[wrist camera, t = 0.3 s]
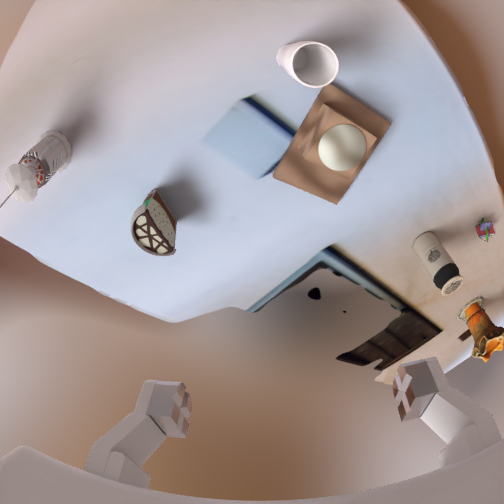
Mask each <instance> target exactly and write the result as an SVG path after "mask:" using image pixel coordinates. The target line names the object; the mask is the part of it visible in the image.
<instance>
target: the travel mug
mask: <svg viewBox="0 0 504 504" xmlns="http://www.w3.org/2000/svg"><path fill="white" fill-rule="evenodd" d="M413 249H414V251H415V253H416V254H417V256H418V257H419V259H420V260H421V262H422V264H423V265H424V267H425V268H426V270H427V272H428V273H429V275H430V276H431V278H432V280H433V281H434V283H435V285H436V286H437V287H438V288H440V289H441V293H442V295H443V296H448V295H451V294H453V293H454V292H456V291H457V290H458V289H459V288H460V287H461V285H462V284H463V281H464V278H463V276H461V275H460V274H459V269H458V267H457V266H456V264H455V263H454V261H453V260H452V259H451V257H450V256H449V254H448V253H447V251H446V250H445V249H444V247H443V246H442V245H441V243H440V242H439V241H438V239H437V238H436V237H435V235H434V234H433V233H431V232H426V233H424V234H422V235H420V236H419V237H418V238H417V239H416V241H415V243H414V245H413Z"/></svg>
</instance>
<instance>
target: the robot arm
mask: <svg viewBox="0 0 504 504" xmlns="http://www.w3.org/2000/svg"><path fill="white" fill-rule="evenodd" d="M397 371H398V375H397V376H396V377H395V378H394V381H393V394H394V397H395V399H396V400H397V401H398V402H400V404H399V406H398V411H399V414H400V418H401V421H407V420H411V419H415V418H419V417H421V419H422V420H423V421H424V422H425V423H426V424H427V425H428V426H429V427H430V428H431V429H432V430H433V431H434V432H435V433H437V434H438V436H440V437H441V438H442V439H443V440H444V441H445V442H446V443H447V444H448V445H447V446H446V447H445V448H444V449H443V450H442V451H441V452H440V454H439V455H438V456H439V460H440V463H441V469H438V470H435V471H433V472H430V473H427V474H424V475H421V476H418V477H415V478H412V479H408V480H405V481H401V482H398V483H394V484H391V485H387V486H383V487H378V488H374V489H369V490H365V491H360V492H355V493H349V494H343V495H336V496H329V497H322V498H312V499H302V500H285V501H235V500H219V499H207V498H198V497H190V496H183V495H177V494H171V493H165V492H160V491H155V490H150V489H148V488H149V483H150V478H151V476H150V474H149V473H148V472H146V471H145V470H143V469H142V468H141V466H142V465H143V464H144V462H145V461H146V460H147V459H148V458H149V457H150V456H151V455H152V454H153V453H154V451H155V450H156V449H157V448H158V447H159V446H160V445H161V444H162V442H163V441H164V440H165V439H166V438H167V437H166V436H168V437H179V438H186V437H187V432H188V427H189V423H188V421H187V420H186V419H187V418H188V417H189V416H190V415H191V412H192V399H191V396H190V394H189V393H188V392H186V391H185V388H186V387H185V385H184V383H183V382H167V381H154V380H146V381H145V382H144V384H143V386H142V389H141V392H140V395H139V398H138V401H137V404H136V407H135V410H134V413H129V414H128V415H127V416H126V417H125V418H124V419H122V420H121V421H120V422H119V423H118V424H116V425H115V426H114V427H113V428H112V429H110V430H109V431H108V432H107V433H106V434H105V435H103V436H102V437H101V438H100V439H99V440H97V441H96V442H95V443H94V444H93V445H92V447H91V451H90V453H89V456H88V459H87V462H86V465H85V468H84V470H81V469H78V468H75V467H73V466H70V465H68V464H66V463H63V462H61V461H58V460H56V459H54V458H51V457H49V456H47V455H45V454H43V453H41V452H39V451H36V450H34V449H32V448H30V447H28V446H25V445H22V446H19V447H17V448H15V449H13V450H12V451H10V452H9V453H7V454H6V455H4V456H3V457H1V458H0V504H504V439H503V440H502V438H501V436H500V433H499V430H498V428H497V425H496V423H495V420H494V418H493V415H492V414H491V413H489V412H488V411H487V410H485V409H484V408H482V407H481V406H479V405H478V404H477V403H475V402H474V401H472V400H471V399H469V398H468V397H466V396H465V395H464V394H462V393H461V392H459V391H458V390H456V389H455V388H450V386H449V384H448V381H447V379H446V377H445V375H444V372H443V370H442V368H441V366H440V364H439V362H438V360H437V358H436V357H431V358H427V359H422V360H418V361H414V362H409V363H405V364H401V365H400V366H399V367H398V370H397Z"/></svg>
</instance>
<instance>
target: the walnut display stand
mask: <svg viewBox="0 0 504 504" xmlns="http://www.w3.org/2000/svg"><path fill="white" fill-rule="evenodd" d="M390 125H391V124H390V123H389V122H388V121H386V120H385V119H384V118H382V117H381V116H379V115H378V114H377V113H375V112H374V111H372V110H371V109H369V108H368V107H366V106H365V105H363V104H362V103H360V102H359V101H357V100H356V99H354V98H352V97H351V96H349V95H348V94H346V93H344V92H343V91H341V90H340V89H338V88H336V87H335V86H333V85H331V84H328V85H326V86H324V87H323V88H322V90H321V91H320V93H319V95H318V97H317V98H316V100H315V102H314V103H313V105H312V107H311V109H310V110H309V112H308V114H307V115H306V117H305V119H304V121H303V122H302V124H301V126H300V127H299V129H298V131H297V133H296V134H295V136H294V138H293V140H292V141H291V143H290V145H289V147H288V148H287V150H286V152H285V154H284V155H283V157H282V159H281V161H280V162H279V164H278V166H277V168H276V169H275V171H274V173H273V177H274V178H275V179H277V180H280V181H282V182H285V183H287V184H290V185H292V186H295V187H297V188H299V189H302V190H304V191H306V192H309V193H311V194H313V195H316V196H318V197H320V198H323V199H325V200H327V201H329V202H332V203H334V204H336V205H337V203H338V202H339V201H340V199H341V198H342V196H343V195H344V193H345V192H346V190H347V189H348V188H349V186H350V185H351V183H352V182H353V180H354V179H355V177H356V176H357V174H358V173H359V172H360V170H361V169H362V167H363V166H364V164H365V163H366V161H367V160H368V158H369V157H370V155H371V154H372V152H373V151H374V149H375V148H376V146H377V145H378V143H379V142H380V140H381V139H382V137H383V136H384V134H385V133H386V131H387V129H388V128H389V126H390Z"/></svg>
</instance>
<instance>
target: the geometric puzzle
mask: <svg viewBox="0 0 504 504" xmlns="http://www.w3.org/2000/svg"><path fill="white" fill-rule="evenodd" d="M483 219H484V218H483ZM483 219H482V220H483ZM486 221H487V220H486ZM491 223H492V222H491V221H490V222H487V223H485V222H484V220H483V222H482V223H481V225H480V224H479V225H480V226H478V225H476V226H477V227H476V226H475V227H476V230H477V233H478V236H480V237H479V238H481V237H486V239H487V241H486V242H488V236H493V235H494V234H495V228H494V226H493V225H492V224H491ZM491 238H492V237H491Z"/></svg>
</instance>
